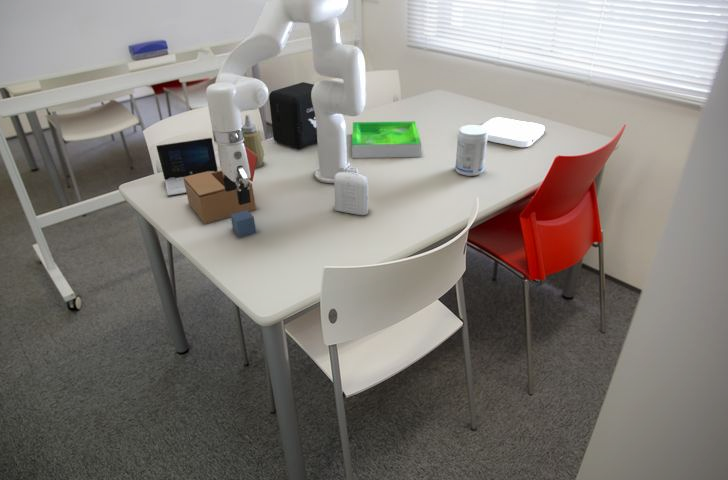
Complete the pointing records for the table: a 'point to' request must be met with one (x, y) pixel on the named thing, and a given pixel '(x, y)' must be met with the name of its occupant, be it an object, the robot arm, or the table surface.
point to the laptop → (185, 162)
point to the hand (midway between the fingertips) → (237, 196)
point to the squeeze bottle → (253, 140)
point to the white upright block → (351, 193)
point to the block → (243, 223)
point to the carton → (214, 196)
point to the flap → (251, 162)
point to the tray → (385, 139)
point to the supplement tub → (471, 150)
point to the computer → (513, 132)
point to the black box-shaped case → (293, 116)
